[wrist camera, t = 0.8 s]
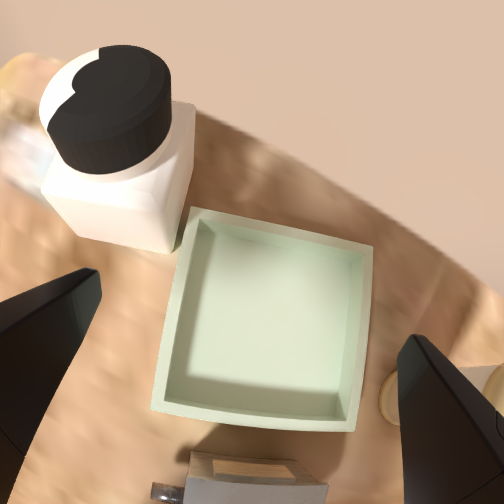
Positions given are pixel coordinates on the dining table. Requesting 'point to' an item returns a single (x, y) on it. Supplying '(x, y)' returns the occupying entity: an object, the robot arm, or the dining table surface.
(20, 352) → the robot arm
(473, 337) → the dining table surface
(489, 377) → the fuse
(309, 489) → the box
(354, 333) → the tray
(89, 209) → the medicine bottle
